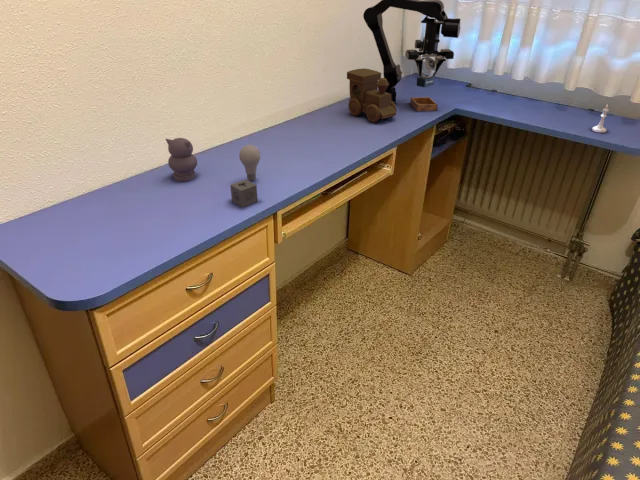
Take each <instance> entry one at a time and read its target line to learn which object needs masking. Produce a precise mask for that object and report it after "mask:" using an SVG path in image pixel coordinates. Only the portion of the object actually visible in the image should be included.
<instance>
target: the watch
mask: <svg viewBox="0 0 640 480" xmlns="http://www.w3.org/2000/svg"><path fill="white" fill-rule="evenodd" d="M421 59H422V60H423V61H425V67H426V69H427V70H428V73H429V75H425V71H424V68H423V67H422V73H421V77H420V76H418V77H417V78H416V86H417V87H421V88H428V87H432V86H434V84H435V83H434V82H435V76H433V75H434V73H435V70H436V62H435V59H433V57H422V58H421Z"/></svg>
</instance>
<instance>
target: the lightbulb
mask: <svg viewBox="0 0 640 480" xmlns="http://www.w3.org/2000/svg"><path fill="white" fill-rule="evenodd" d="M260 151H261V150H260V149H259V148H258V147H256V146H255V145H253V144H247V145H244V146H243V147H241V149H240V150H239V153H238V154H239V156H238V158H239V161H240V162H241V164H242V165H243V167H244V170H245V174H246V178H247V179H246V180H248V181H250V182H254V180H256V179H257V169H258V165H259V163H260V160H261V152H260Z"/></svg>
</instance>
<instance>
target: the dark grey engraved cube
mask: <svg viewBox="0 0 640 480" xmlns="http://www.w3.org/2000/svg"><path fill="white" fill-rule="evenodd" d="M229 187H230V194H231V202H233V203H234V204H236V205H237V206H239V207H241V208H245V207H248V206H250V205H253V204H256V203H257V202H258V187H257V185H256V184H255V183H253V182H252V181H250V180H248V179H243V180H240V181H236V182H234V183H231V184H230V185H229Z"/></svg>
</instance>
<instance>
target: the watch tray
mask: <svg viewBox="0 0 640 480" xmlns="http://www.w3.org/2000/svg"><path fill="white" fill-rule="evenodd" d="M409 104H410V105H411V107H413V109H414V110H415V111H416V112H433V111H438V110H437V109H438V103H436V101H434V100H433V99H432V98H431V97H430V96H424V97H423V96H421V97H419V96H418V97H417V96H416V97H410V100H409Z"/></svg>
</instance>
